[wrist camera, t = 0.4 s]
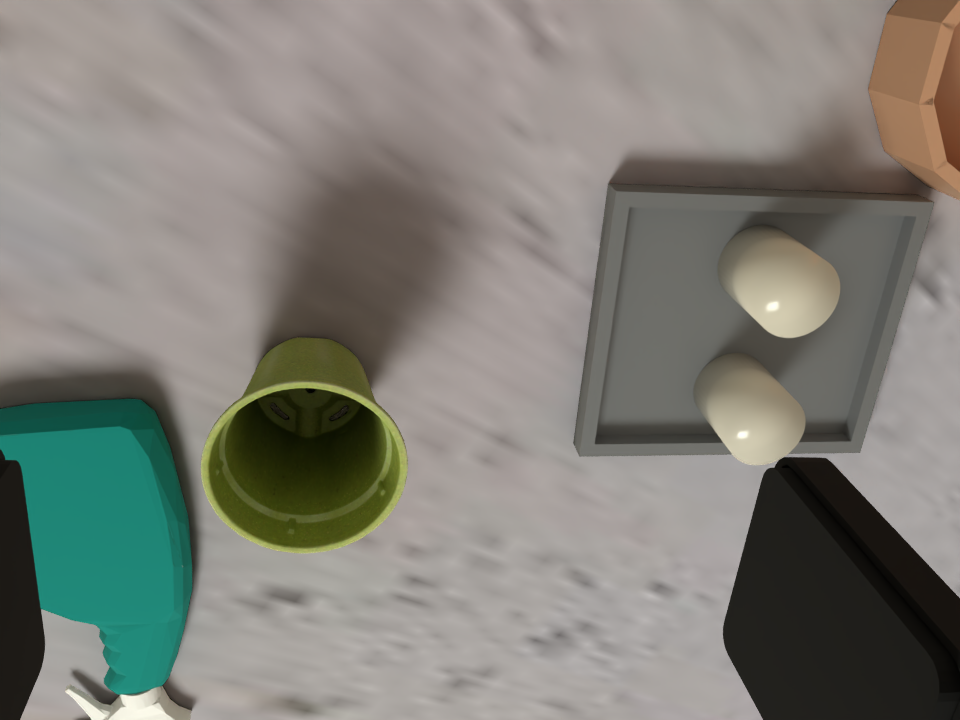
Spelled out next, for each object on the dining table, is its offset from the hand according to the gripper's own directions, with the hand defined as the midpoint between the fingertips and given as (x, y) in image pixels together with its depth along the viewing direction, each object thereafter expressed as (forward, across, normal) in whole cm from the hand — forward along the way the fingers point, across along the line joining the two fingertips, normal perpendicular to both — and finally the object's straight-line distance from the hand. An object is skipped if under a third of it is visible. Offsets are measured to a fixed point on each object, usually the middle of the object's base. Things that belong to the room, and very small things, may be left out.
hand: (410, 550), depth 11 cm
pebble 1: (+34, -22, +7) cm, 41 cm away
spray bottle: (+36, +14, +28) cm, 48 cm away
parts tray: (+35, -22, +10) cm, 43 cm away
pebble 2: (+35, -22, +14) cm, 43 cm away
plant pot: (+35, +2, +15) cm, 38 cm away
